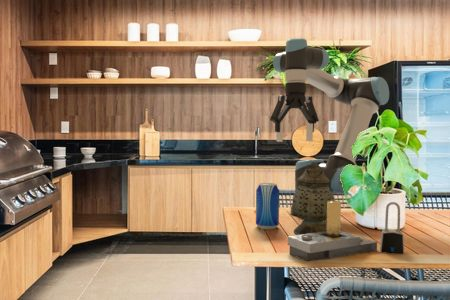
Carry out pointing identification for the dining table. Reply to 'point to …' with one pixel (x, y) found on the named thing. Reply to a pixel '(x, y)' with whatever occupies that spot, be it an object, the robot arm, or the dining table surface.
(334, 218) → the brass pin
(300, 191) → the lantern
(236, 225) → the dining table surface
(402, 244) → the padlock
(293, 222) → the dining table surface
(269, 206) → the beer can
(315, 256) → the grey device box
